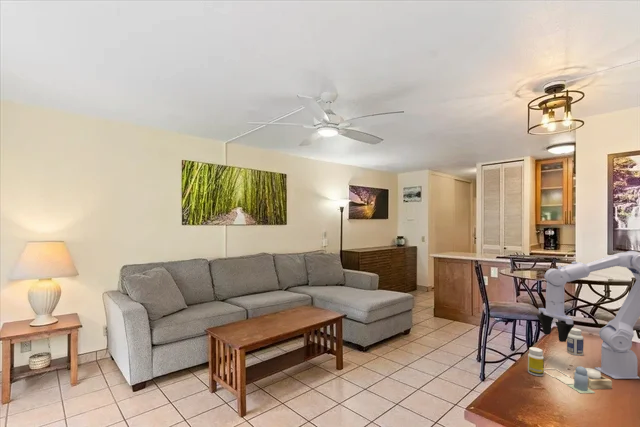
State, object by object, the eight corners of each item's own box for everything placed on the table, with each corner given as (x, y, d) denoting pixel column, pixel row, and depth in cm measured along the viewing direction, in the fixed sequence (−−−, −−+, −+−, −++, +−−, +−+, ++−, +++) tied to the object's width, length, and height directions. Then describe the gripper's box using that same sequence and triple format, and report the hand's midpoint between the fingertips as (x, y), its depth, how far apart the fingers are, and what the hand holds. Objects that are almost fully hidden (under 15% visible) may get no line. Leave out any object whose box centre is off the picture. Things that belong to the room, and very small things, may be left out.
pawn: (580, 385, 109) (581, 364, 109) (590, 390, 105) (591, 369, 106) (571, 385, 108) (572, 364, 108) (580, 390, 105) (581, 369, 105)
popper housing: (592, 378, 114) (592, 370, 115) (611, 388, 108) (611, 380, 108) (573, 378, 114) (573, 370, 114) (591, 388, 107) (591, 380, 107)
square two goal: (581, 385, 109) (581, 384, 109) (595, 393, 104) (595, 392, 104) (567, 385, 109) (567, 384, 109) (580, 393, 104) (580, 392, 104)
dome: (592, 376, 113) (592, 367, 113) (604, 382, 109) (604, 373, 109) (580, 376, 113) (580, 367, 113) (591, 382, 108) (591, 374, 108)
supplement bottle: (546, 377, 114) (546, 352, 115) (531, 375, 115) (531, 351, 116) (540, 371, 119) (540, 347, 119) (525, 369, 120) (525, 346, 120)
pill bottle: (582, 352, 137) (582, 328, 137) (584, 357, 133) (584, 332, 133) (566, 349, 140) (566, 326, 140) (567, 353, 135) (567, 329, 136)
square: (568, 377, 115) (568, 376, 115) (580, 384, 110) (580, 383, 110) (554, 377, 115) (554, 376, 115) (566, 384, 110) (566, 383, 110)
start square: (556, 368, 121) (556, 368, 121) (570, 377, 115) (570, 376, 115) (539, 369, 121) (539, 368, 121) (552, 377, 114) (552, 376, 114)
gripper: (531, 296, 132) (530, 331, 132) (560, 306, 118) (559, 345, 118) (548, 296, 133) (547, 331, 133) (579, 306, 118) (578, 345, 118)
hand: (554, 337), depth 125 cm, fingers open, 7 cm apart
